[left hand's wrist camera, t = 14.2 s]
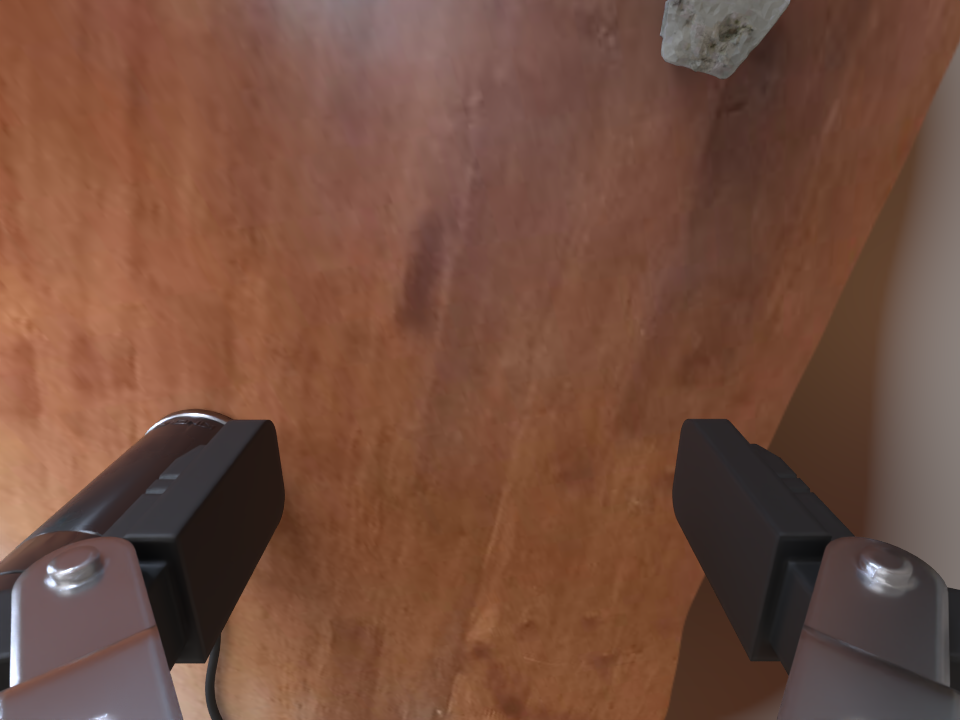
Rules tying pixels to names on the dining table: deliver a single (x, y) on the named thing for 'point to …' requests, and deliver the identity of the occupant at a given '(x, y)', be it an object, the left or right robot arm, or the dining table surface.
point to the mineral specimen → (716, 32)
